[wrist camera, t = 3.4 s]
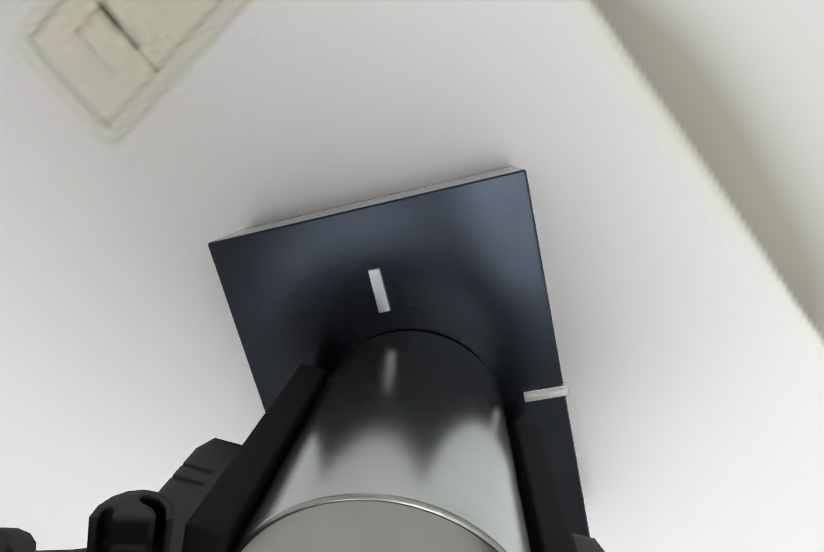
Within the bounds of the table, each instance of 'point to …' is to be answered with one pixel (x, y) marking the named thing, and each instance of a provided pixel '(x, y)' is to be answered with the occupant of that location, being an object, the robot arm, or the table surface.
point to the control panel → (410, 295)
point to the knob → (397, 459)
